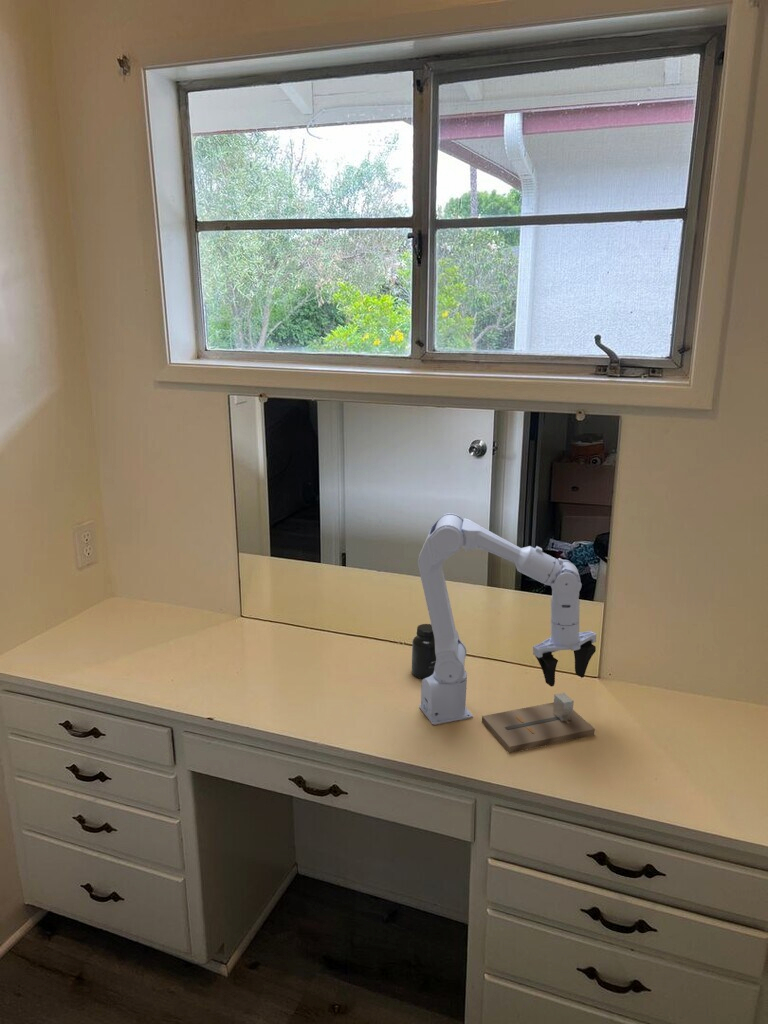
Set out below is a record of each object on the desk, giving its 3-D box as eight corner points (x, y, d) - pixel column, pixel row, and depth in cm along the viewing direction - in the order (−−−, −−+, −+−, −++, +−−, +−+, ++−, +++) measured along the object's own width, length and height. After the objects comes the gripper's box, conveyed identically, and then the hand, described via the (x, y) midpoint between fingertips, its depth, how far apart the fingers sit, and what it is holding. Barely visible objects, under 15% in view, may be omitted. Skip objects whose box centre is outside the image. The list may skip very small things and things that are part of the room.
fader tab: (562, 721, 156) (563, 702, 155) (552, 712, 159) (554, 694, 158) (572, 719, 157) (573, 701, 156) (562, 711, 160) (564, 692, 159)
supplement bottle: (437, 681, 176) (439, 635, 172) (409, 678, 177) (410, 632, 174) (441, 668, 182) (442, 623, 179) (413, 665, 183) (414, 620, 180)
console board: (509, 753, 148) (509, 746, 147) (481, 722, 159) (482, 715, 158) (594, 735, 154) (594, 728, 154) (562, 706, 165) (563, 700, 165)
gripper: (547, 635, 146) (547, 696, 150) (606, 619, 152) (605, 679, 155) (526, 622, 153) (527, 682, 156) (584, 608, 158) (584, 665, 162)
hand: (565, 679), depth 156 cm, fingers open, 7 cm apart
